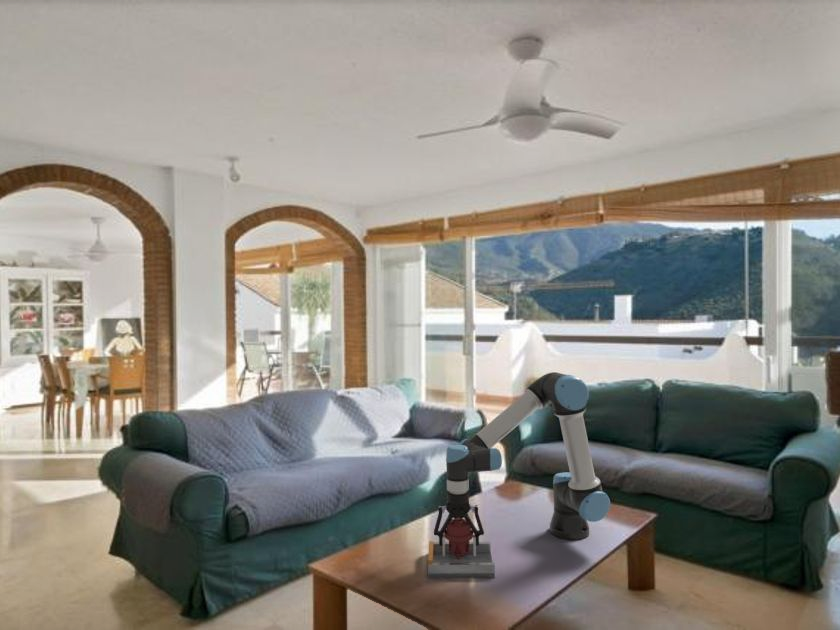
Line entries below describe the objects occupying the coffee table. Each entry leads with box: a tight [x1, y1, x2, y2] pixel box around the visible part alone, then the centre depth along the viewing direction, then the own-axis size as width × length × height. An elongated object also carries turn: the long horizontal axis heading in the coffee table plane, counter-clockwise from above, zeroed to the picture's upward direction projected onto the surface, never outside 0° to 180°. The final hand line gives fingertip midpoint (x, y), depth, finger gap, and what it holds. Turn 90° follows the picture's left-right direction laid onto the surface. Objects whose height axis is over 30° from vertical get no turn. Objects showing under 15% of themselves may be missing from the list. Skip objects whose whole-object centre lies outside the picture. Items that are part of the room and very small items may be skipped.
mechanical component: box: [444, 518, 474, 559], centre depth 197 cm, size 12×10×10 cm
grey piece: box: [427, 540, 496, 579], centre depth 197 cm, size 22×19×5 cm
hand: (459, 554), depth 198 cm, fingers closed on mechanical component, 10 cm apart
